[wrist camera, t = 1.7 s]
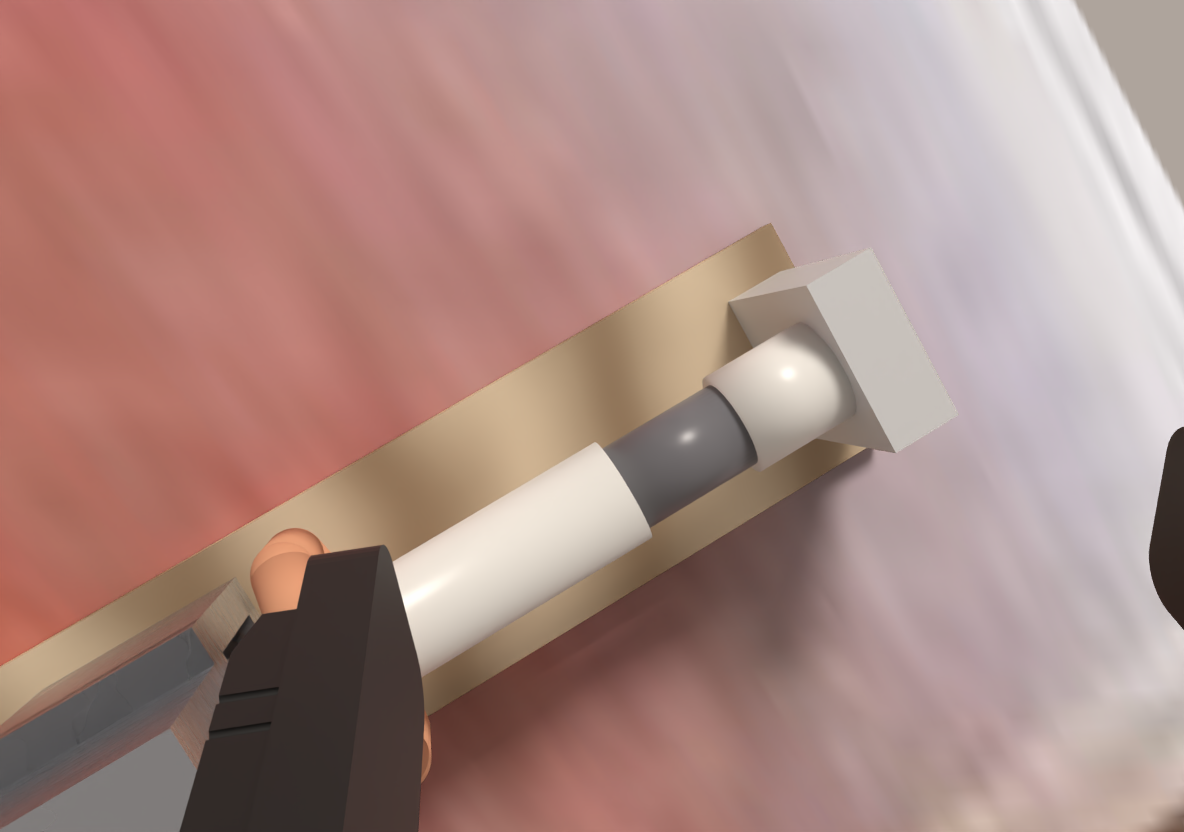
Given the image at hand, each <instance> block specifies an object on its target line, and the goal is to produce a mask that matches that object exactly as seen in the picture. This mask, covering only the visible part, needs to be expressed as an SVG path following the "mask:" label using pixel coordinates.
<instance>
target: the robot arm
mask: <svg viewBox="0 0 1184 832" xmlns="http://www.w3.org/2000/svg"><path fill="white" fill-rule="evenodd" d="M1149 564H1150V571H1151V576H1152V580H1153V583H1154V586H1155V589H1156V591H1157V594H1158V596H1159V598H1160V600H1161V602H1162V603H1163V605H1164V606H1165V608H1166V609H1167V610H1168V612H1169V613H1170V614H1171V615H1172V617H1173V618H1174V619H1175V620H1176V621H1177V622H1178V624H1179V625H1180V626H1181V627H1182V628H1183V630H1184V427H1182V428H1180V429H1178V430H1177V431H1176V432H1175V433H1174V434H1173V435H1172V437H1171V439H1170V441H1169V443H1168V447H1167V452H1166V457H1165V463H1164V469H1163V474H1162V480H1161V486H1160V491H1159V497H1158V502H1157V508H1156V514H1155V519H1154V525H1153V531H1152V536H1151V542H1150V549H1149ZM424 718H425V714H424V694H423V684H422V677H421V671H420V665H419V661H418V656H417V652H416V649H415V645H414V641H413V637H412V633H411V630H410V626H409V622H408V618H407V614H406V611H405V607H404V603H403V599H402V595H401V592H400V588H399V584H398V580H397V577H396V573H395V569H394V565H393V562H392V558H391V555H390V553H389V551H388V549H387V547H386V546H385V545H378V546H371V547H364V548H358V549H351V550H344V551H338V552H331V553H324V554H318V555H311V556H310V557H309V559H308V561H307V564H306V568H305V573H304V577H303V582H302V586H301V591H300V595H299V600H298V604H297V609H292V610H285V611H279V612H272V613H266V614H262V615H261V616H260V617H259V619H258V620H257V621H256V622H255V624H254V625H253V626H252V627H251V629H250V630H249V631H248V632H247V634H246V635H245V636H244V637H243V639H242V640H241V641H240V642H239V644H238V645H237V646H236V647H235V649H234V650H233V651H232V652H231V654H230V657H229V661H228V664H227V668H226V671H225V675H224V678H223V682H222V685H221V689H220V692H219V704H216V706H215V710H214V713H213V716H212V720H211V723H210V727H209V730H208V732H209V740H206V741H205V744H204V748H203V751H202V755H201V758H200V762H199V765H198V769H197V772H196V776H195V779H194V783H193V786H192V789H191V793H190V796H189V800H188V803H187V807H186V810H185V814H184V817H183V821H182V824H181V828H180V831H179V832H418V826H419V809H420V791H421V774H422V756H423V738H424Z"/></svg>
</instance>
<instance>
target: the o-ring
mask: <svg viewBox="0 0 1184 832" xmlns="http://www.w3.org/2000/svg"><path fill="white" fill-rule="evenodd" d="M324 553H331V552H330V551H329V550H328V549H327V547H326V546H325V545H324V544H323V543H322V542H321V541H320V540H319V538H318V537H317V536H315V535H314V534H313V533H311V532H310V531H308V530H305V529H301V528H290V529H286V530H283V531H281V532H279V533H277V534H276V535H275V536H273V537H272V538H271V540H270V541H269V542H268V543H267V544H266V545H265V546H264V548H263V549H262V550H261V551H260V552H259V553H258V554H257V556H256V557H255V559H254V561H253V563H252V566H251V570H250V581H251V585H252V588H253V591H254V594H255V597H256V599H257V602H258V605H259V608H260V611H261V613H262V614H266V613H272V612H279V611H285V610H292V609H297V604H298V600H299V595H300V591H301V586H302V582H303V577H304V573H305V568H306V564H307V561H308V559H309V557H310V556H311V555H318V554H324ZM424 714H425V718H424V738H423V756H422V774H421V783H422V782H423V781H424V780H425V778H426V776H427V775H428V772H429V770H430V766H431V727H430V721H429V718H428V716H427V713H426V711H425V709H424Z"/></svg>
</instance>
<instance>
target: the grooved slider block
mask: <svg viewBox="0 0 1184 832" xmlns="http://www.w3.org/2000/svg"><path fill="white" fill-rule="evenodd" d="M259 617H260V615H259V613H258V612H257V610H256V609H255V607H254V605H253V604H252V602H251V601H250V599H249V597H248V596H247V594H246V593H245V591H244V589H243V588H242V586H241V585H240V583H239V581H238V580H237V578H236V577H235V578H233V579H231V580H230V581H228V582H226V583H224V584H223V585H221V586H219V587H218V588H216V589H214V590H212V591H211V592H209V593H207V594H206V595H204V596H202V597H200V598H199V599H197V600H195V601H194V602H192V603H190V604H188V605H187V606H185V607H183V608H182V609H180V610H178V611H176V612H175V613H173V614H171V615H169V616H168V617H166V618H164V619H163V620H161V621H159V622H157V623H156V624H154V625H152V626H151V627H149V628H147V629H145V630H144V631H142V632H140V633H139V634H137V635H135V636H133V637H132V638H130V639H128V640H127V641H125V642H123V643H121V644H120V645H118V646H116V647H115V648H113V649H111V650H109V651H108V652H106V653H104V654H103V655H101V656H99V657H97V658H96V659H94V660H92V661H90V662H89V663H87V664H85V665H84V666H82V667H80V668H78V669H77V670H75V671H73V672H72V673H70V674H68V675H66V676H65V677H63V678H61V679H60V680H58V681H56V682H54V683H53V684H51V685H49V686H48V687H46V688H44V689H42V690H41V691H40V692H39V693H38V694H37V695H35V696H34V697H33V698H32V699H31V700H30V701H28V702H27V703H26V704H25V705H24V706H22V707H21V708H20V709H19V710H18V711H17V712H15V713H14V714H13V715H12V716H11V717H10V718H8V719H7V720H6V721H5V722H4V723H3V724H1V725H0V832H179V831H180V828H181V824H182V821H183V817H184V814H185V810H186V807H187V803H188V800H189V796H190V793H191V789H192V786H193V783H194V779H195V776H196V772H197V769H198V765H199V762H200V758H201V755H202V751H203V748H204V744H205V741H206V740H209V732H208V730H209V727H210V723H211V720H212V716H213V713H214V710H215V706H216V704H219V692H220V689H221V685H222V682H223V678H224V675H225V671H226V668H227V664H228V660H227V659H229V657H230V654H231V652H232V651H233V650H234V649H235V647H236V646H237V645H238V644H239V642H240V641H241V640H242V639H243V637H244V636H245V635H246V634H247V632H248V631H249V630H250V629H251V627H252V626H253V625H254V624H255V622H256V621H257V620H258V619H259Z"/></svg>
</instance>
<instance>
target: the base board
mask: <svg viewBox="0 0 1184 832" xmlns="http://www.w3.org/2000/svg"><path fill="white" fill-rule="evenodd" d="M791 268H795V267H794V265H793V263H792V261H791V259H790V258H789V256H788V254H787V252H786V250H785V248H784V246H783V244H782V243H781V241H780V239H779V237H778V235H777V233H776V231H775V229H774V228H773V226H772V224H771V223H770V224H767V225H765V226H763V227H761V228H759V229H758V230H756V231H754V232H752V233H751V234H749V235H747V236H745V237H744V238H742V239H740V240H738V241H737V242H735V243H733V244H732V245H730V246H728V247H726V248H725V249H723V250H721V251H719V252H718V253H716V254H714V255H712V256H711V257H709V258H707V259H706V260H704V261H702V262H700V263H699V264H697V265H695V266H693V267H692V268H690V269H688V270H686V271H685V272H683V273H681V274H680V275H678V276H676V277H674V278H673V279H671V280H669V281H667V282H666V283H664V284H662V285H660V286H659V287H657V288H655V289H654V290H652V291H650V292H648V293H647V294H645V295H643V296H641V297H640V298H638V299H636V300H634V301H633V302H631V303H629V304H628V305H626V306H624V307H622V308H621V309H619V310H617V311H615V312H614V313H612V314H610V315H608V316H607V317H605V318H603V319H602V320H600V321H598V322H596V323H595V324H593V325H591V326H589V327H588V328H586V329H584V330H582V331H581V332H579V333H577V334H576V335H574V336H572V337H570V338H569V339H567V340H565V341H563V342H562V343H560V344H558V345H556V346H555V347H553V348H551V349H550V350H548V351H546V352H544V353H543V354H541V355H539V356H537V357H536V358H534V359H532V360H530V361H529V362H527V363H525V364H524V365H522V366H520V367H518V368H517V369H515V370H513V371H511V372H510V373H508V374H506V375H504V376H503V377H501V378H499V379H498V380H496V381H494V382H492V383H491V384H489V385H487V386H485V387H484V388H482V389H480V390H478V391H477V392H475V393H473V394H472V395H470V396H468V397H466V398H465V399H463V400H461V401H459V402H458V403H456V404H454V405H452V406H451V407H449V408H447V409H446V410H444V411H442V412H440V413H439V414H437V415H435V416H433V417H432V418H430V419H428V420H426V421H425V422H423V423H421V424H420V425H418V426H416V427H414V428H413V429H411V430H409V431H407V432H406V433H404V434H402V435H400V436H399V437H397V438H395V439H394V440H392V441H390V442H388V443H387V444H385V445H383V446H381V447H380V448H378V449H376V450H374V451H373V452H371V453H369V454H368V455H366V456H364V457H362V458H361V459H359V460H357V461H355V462H354V463H352V464H350V465H348V466H347V467H345V468H343V469H342V470H340V471H338V472H336V473H335V474H333V475H331V476H329V477H328V478H326V479H324V480H322V481H321V482H319V483H317V484H316V485H314V486H312V487H310V488H309V489H307V490H305V491H303V492H302V493H300V494H298V495H296V496H295V497H293V498H291V499H290V500H288V501H286V502H284V503H283V504H281V505H279V506H277V507H276V508H274V509H272V510H270V511H269V512H267V513H265V514H264V515H262V516H260V517H258V518H257V519H255V520H253V521H251V522H250V523H248V524H246V525H244V526H243V527H241V528H239V529H238V530H236V531H234V532H232V533H231V534H229V535H227V536H225V537H224V538H222V539H220V540H218V541H217V542H215V543H213V544H212V545H210V546H208V547H206V548H205V549H203V550H201V551H199V552H198V553H196V554H194V555H192V556H191V557H189V558H187V559H186V560H184V561H182V562H180V563H179V564H177V565H175V566H173V567H172V568H170V569H168V570H166V571H165V572H163V573H161V574H160V575H158V576H156V577H154V578H153V579H151V580H149V581H147V582H146V583H144V584H142V585H140V586H139V587H137V588H135V589H134V590H132V591H130V592H128V593H127V594H125V595H123V596H121V597H120V598H118V599H116V600H114V601H113V602H111V603H109V604H108V605H106V606H104V607H102V608H101V609H99V610H97V611H95V612H94V613H92V614H90V615H88V616H87V617H85V618H83V619H82V620H80V621H78V622H76V623H75V624H73V625H71V626H69V627H68V628H66V629H64V630H62V631H61V632H59V633H57V634H56V635H54V636H52V637H50V638H49V639H47V640H45V641H43V642H42V643H40V644H38V645H37V646H35V647H33V648H31V649H30V650H28V651H26V652H24V653H23V654H21V655H19V656H17V657H16V658H14V659H12V660H11V661H9V662H7V663H5V664H4V665H2V666H0V725H1V724H3V723H4V722H5V721H6V720H7V719H8V718H10V717H11V716H12V715H13V714H14V713H15V712H17V711H18V710H19V709H20V708H21V707H22V706H24V705H25V704H26V703H27V702H28V701H30V700H31V699H32V698H33V697H34V696H35V695H37V694H38V693H39V692H40V691H41V690H42V689H44V688H46V687H48V686H49V685H51V684H53V683H54V682H56V681H58V680H60V679H61V678H63V677H65V676H66V675H68V674H70V673H72V672H73V671H75V670H77V669H78V668H80V667H82V666H84V665H85V664H87V663H89V662H90V661H92V660H94V659H96V658H97V657H99V656H101V655H103V654H104V653H106V652H108V651H109V650H111V649H113V648H115V647H116V646H118V645H120V644H121V643H123V642H125V641H127V640H128V639H130V638H132V637H133V636H135V635H137V634H139V633H140V632H142V631H144V630H145V629H147V628H149V627H151V626H152V625H154V624H156V623H157V622H159V621H161V620H163V619H164V618H166V617H168V616H169V615H171V614H173V613H175V612H176V611H178V610H180V609H182V608H183V607H185V606H187V605H188V604H190V603H192V602H194V601H195V600H197V599H199V598H200V597H202V596H204V595H206V594H207V593H209V592H211V591H212V590H214V589H216V588H218V587H219V586H221V585H223V584H224V583H226V582H228V581H230V580H231V579H233V578H235V577H236V578H237V580H238V581H239V583H240V585H241V586H242V588H243V589H244V591H245V593H246V594H247V596H248V597H249V599H250V601H251V602H252V604H253V605H254V607H255V609H256V610H257V612H258V613H259V615H260V616H261V615H262V613H261V611H260V608H259V605H258V602H257V599H256V597H255V594H254V591H253V588H252V585H251V581H250V570H251V566H252V563H253V561H254V559H255V557H256V556H257V554H258V553H259V552H260V551H261V550H262V549H263V548H264V546H265V545H266V544H267V543H268V542H269V541H270V540H271V538H272V537H273V536H275V535H276V534H277V533H279V532H281V531H283V530H286V529H290V528H301V529H305V530H308V531H310V532H311V533H313V534H314V535H315V536H317V537H318V538H319V540H320V541H321V542H322V543H323V544H324V545H325V546H326V547H327V549H328V550H329V551H330V552H338V551H344V550H351V549H358V548H364V547H371V546H378V545H385V546H386V547H387V549H388V551H389V553H390V555H391V558H392V562H393V561H395V560H396V559H398V558H400V557H401V556H403V555H405V554H406V553H408V552H410V551H411V550H413V549H415V548H417V547H418V546H420V545H422V544H423V543H425V542H427V541H428V540H430V539H432V538H433V537H435V536H437V535H439V534H440V533H442V532H444V531H445V530H447V529H449V528H450V527H452V526H454V525H455V524H457V523H459V522H460V521H462V520H464V519H466V518H467V517H469V516H471V515H472V514H474V513H476V512H477V511H479V510H481V509H482V508H484V507H486V506H488V505H489V504H491V503H493V502H494V501H496V500H498V499H499V498H501V497H503V496H504V495H506V494H508V493H510V492H511V491H513V490H515V489H516V488H518V487H520V486H521V485H523V484H525V483H526V482H528V481H530V480H532V479H533V478H535V477H537V476H538V475H540V474H542V473H543V472H545V471H547V470H548V469H550V468H552V467H554V466H555V465H557V464H559V463H560V462H562V461H564V460H565V459H567V458H569V457H570V456H572V455H574V454H576V453H577V452H579V451H581V450H582V449H584V448H586V447H587V446H589V445H591V444H592V443H594V442H596V443H597V444H598V445H599V446H600V447H601V448H604V447H606V446H607V445H609V444H611V443H612V442H614V441H616V440H617V439H619V438H621V437H622V436H624V435H626V434H627V433H629V432H631V431H633V430H634V429H636V428H638V427H639V426H641V425H643V424H644V423H646V422H648V421H649V420H651V419H653V418H654V417H656V416H658V415H660V414H661V413H663V412H665V411H666V410H668V409H670V408H671V407H673V406H675V405H676V404H678V403H680V402H681V401H683V400H685V399H687V398H688V397H690V396H692V395H693V394H695V393H697V392H698V391H700V390H702V389H703V385H702V380H703V378H704V377H706V376H707V375H709V374H711V373H713V372H714V371H716V370H718V369H719V368H721V367H723V366H724V365H726V364H728V363H729V362H731V361H733V360H735V359H736V358H738V357H740V356H741V355H743V354H745V353H746V352H748V351H750V350H751V349H753V347H752V345H751V343H750V341H749V340H748V338H747V336H746V334H745V332H744V330H743V329H742V327H741V325H740V323H739V321H738V319H737V318H736V316H735V314H734V312H733V310H732V308H731V307H730V305H729V303H728V302H729V301H730V300H732V299H734V298H735V297H737V296H739V295H740V294H742V293H744V292H746V291H747V290H749V289H751V288H752V287H754V286H756V285H758V284H759V283H761V282H763V281H764V280H766V279H768V278H770V277H771V276H773V275H775V274H776V273H778V272H780V271H784V270H787V269H791ZM864 449H866V448H865V447H859V446H854V445H849V444H843V443H838V442H832V441H827V440H821V439H814V440H812V441H811V442H809V443H807V444H806V445H804V446H802V447H801V448H799V449H797V450H796V451H794V452H793V453H791V454H789V455H788V456H786V457H784V458H783V459H781V460H779V461H778V462H776V463H774V464H773V465H771V466H769V467H768V468H766V469H765V470H763V471H761V472H758V471H756V470H754V469H753V468H752V467H750V468H748V469H747V470H745V471H743V472H742V473H740V474H738V475H737V476H735V477H733V478H732V479H730V480H728V481H727V482H725V483H724V484H722V485H720V486H719V487H717V488H715V489H714V490H712V491H710V492H709V493H707V494H705V495H704V496H702V497H700V498H699V499H697V500H695V501H694V502H692V503H691V504H689V505H687V506H686V507H684V508H682V509H681V510H679V511H677V512H676V513H674V514H672V515H671V516H669V517H667V518H666V519H664V520H662V521H661V522H659V523H657V524H656V525H654V526H653V527H651V528H650V530H651V533H652V538H651V539H649V540H648V541H646V542H644V543H643V544H641V545H639V546H638V547H636V548H634V549H633V550H631V551H629V552H628V553H626V554H624V555H623V556H621V557H620V558H618V559H616V560H615V561H613V562H611V563H610V564H608V565H606V566H605V567H603V568H601V569H600V570H598V571H596V572H595V573H593V574H592V575H590V576H588V577H587V578H585V579H583V580H582V581H580V582H578V583H577V584H575V585H573V586H572V587H570V588H568V589H567V590H565V591H563V592H562V593H560V594H559V595H557V596H555V597H554V598H552V599H550V600H549V601H547V602H545V603H544V604H542V605H540V606H539V607H537V608H535V609H534V610H532V611H531V612H529V613H527V614H526V615H524V616H522V617H521V618H519V619H517V620H516V621H514V622H512V623H511V624H509V625H507V626H506V627H504V628H503V629H501V630H499V631H498V632H496V633H494V634H493V635H491V636H489V637H488V638H486V639H484V640H483V641H481V642H479V643H478V644H476V645H475V646H473V647H471V648H470V649H468V650H466V651H465V652H463V653H461V654H460V655H458V656H456V657H455V658H453V659H451V660H450V661H448V662H446V663H445V664H443V665H442V666H440V667H438V668H437V669H435V670H433V671H432V672H430V673H428V674H427V675H425V676H423V677H422V684H423V694H424V709H425V711H426V713H427V716H429V715H431V714H433V713H434V712H436V711H438V710H439V709H441V708H442V707H444V706H446V705H447V704H449V703H451V702H452V701H454V700H455V699H457V698H459V697H460V696H462V695H464V694H465V693H467V692H469V691H470V690H472V689H473V688H475V687H477V686H478V685H480V684H482V683H483V682H485V681H487V680H488V679H490V678H491V677H493V676H495V675H496V674H498V673H500V672H501V671H503V670H505V669H506V668H508V667H509V666H511V665H513V664H514V663H516V662H518V661H519V660H521V659H522V658H524V657H526V656H527V655H529V654H531V653H532V652H534V651H536V650H537V649H539V648H540V647H542V646H544V645H545V644H547V643H549V642H550V641H552V640H554V639H555V638H557V637H558V636H560V635H562V634H563V633H565V632H567V631H568V630H570V629H572V628H573V627H575V626H576V625H578V624H580V623H581V622H583V621H585V620H586V619H588V618H590V617H591V616H593V615H594V614H596V613H598V612H599V611H601V610H603V609H604V608H606V607H607V606H609V605H611V604H612V603H614V602H616V601H617V600H619V599H621V598H622V597H624V596H625V595H627V594H629V593H630V592H632V591H634V590H635V589H637V588H639V587H640V586H642V585H643V584H645V583H647V582H648V581H650V580H652V579H653V578H655V577H657V576H658V575H660V574H661V573H663V572H665V571H666V570H668V569H670V568H671V567H673V566H674V565H676V564H678V563H679V562H681V561H683V560H684V559H686V558H688V557H689V556H691V555H692V554H694V553H696V552H697V551H699V550H701V549H702V548H704V547H706V546H707V545H709V544H710V543H712V542H714V541H715V540H717V539H719V538H720V537H722V536H724V535H725V534H727V533H728V532H730V531H732V530H733V529H735V528H737V527H738V526H740V525H741V524H743V523H745V522H746V521H748V520H750V519H751V518H753V517H755V516H756V515H758V514H759V513H761V512H763V511H764V510H766V509H768V508H769V507H771V506H773V505H774V504H776V503H777V502H779V501H781V500H782V499H784V498H786V497H787V496H789V495H791V494H792V493H794V492H795V491H797V490H799V489H800V488H802V487H804V486H805V485H807V484H809V483H810V482H812V481H813V480H815V479H817V478H818V477H820V476H822V475H823V474H825V473H826V472H828V471H830V470H831V469H833V468H835V467H836V466H838V465H840V464H841V463H843V462H844V461H846V460H848V459H849V458H851V457H853V456H854V455H856V454H858V453H859V452H861V451H862V450H864Z"/></svg>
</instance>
